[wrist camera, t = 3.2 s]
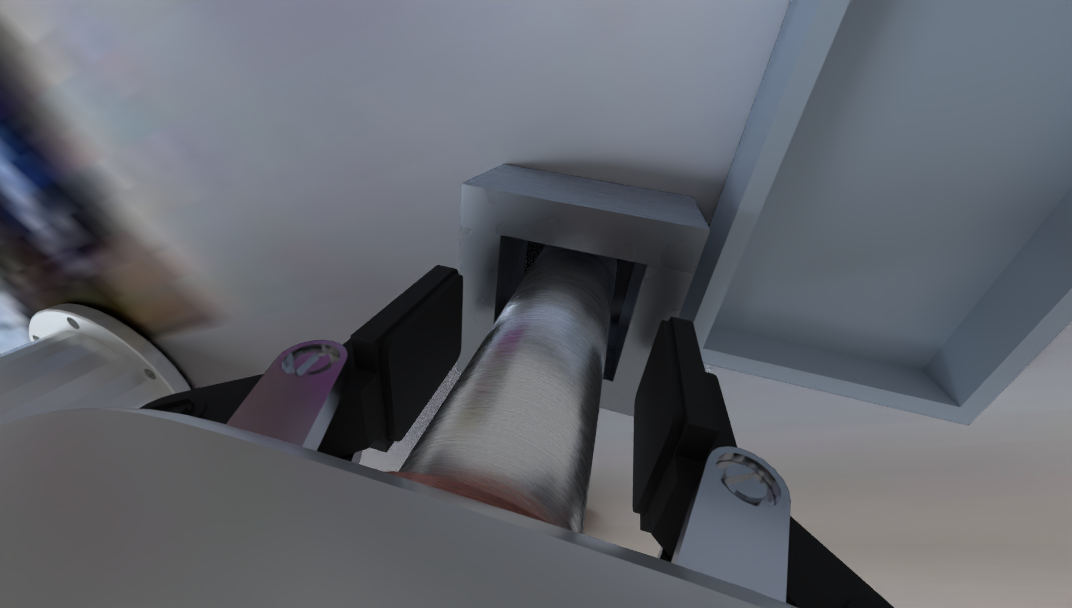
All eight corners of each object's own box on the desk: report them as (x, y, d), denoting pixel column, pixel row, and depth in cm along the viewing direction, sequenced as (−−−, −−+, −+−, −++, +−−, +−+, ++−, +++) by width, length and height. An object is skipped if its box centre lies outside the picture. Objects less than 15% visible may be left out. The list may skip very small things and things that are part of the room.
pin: (620, 325, 16) (580, 797, 5) (518, 302, 17) (294, 678, 6) (648, 223, 14) (683, 675, 3) (530, 200, 15) (201, 505, 4)
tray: (919, 377, 14) (968, 425, 12) (674, 322, 16) (679, 357, 14) (1314, -106, 8) (1566, -184, 6) (838, -130, 9) (898, -199, 7)
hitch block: (640, 353, 17) (641, 418, 13) (491, 318, 18) (456, 370, 14) (691, 196, 13) (710, 229, 10) (503, 163, 14) (461, 183, 11)
